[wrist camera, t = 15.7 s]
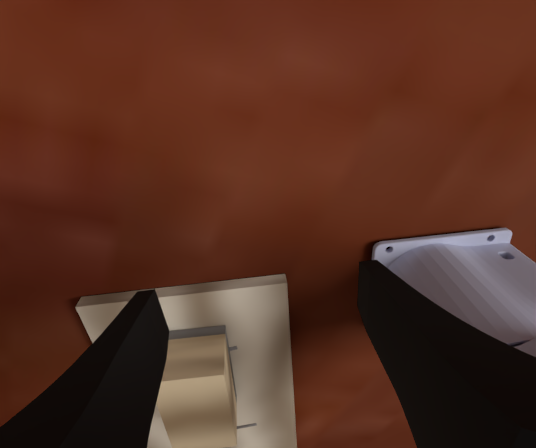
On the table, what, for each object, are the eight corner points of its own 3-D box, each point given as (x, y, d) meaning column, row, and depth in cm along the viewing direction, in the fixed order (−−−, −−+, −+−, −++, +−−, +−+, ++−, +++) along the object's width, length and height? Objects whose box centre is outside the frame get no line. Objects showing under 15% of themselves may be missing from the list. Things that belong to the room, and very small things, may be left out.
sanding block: (161, 331, 24) (148, 382, 20) (225, 325, 24) (223, 374, 20) (181, 400, 28) (174, 453, 24) (236, 394, 28) (236, 446, 24)
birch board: (285, 273, 24) (287, 283, 23) (295, 444, 34) (297, 455, 34) (81, 296, 23) (74, 307, 22) (157, 462, 34) (155, 475, 33)
